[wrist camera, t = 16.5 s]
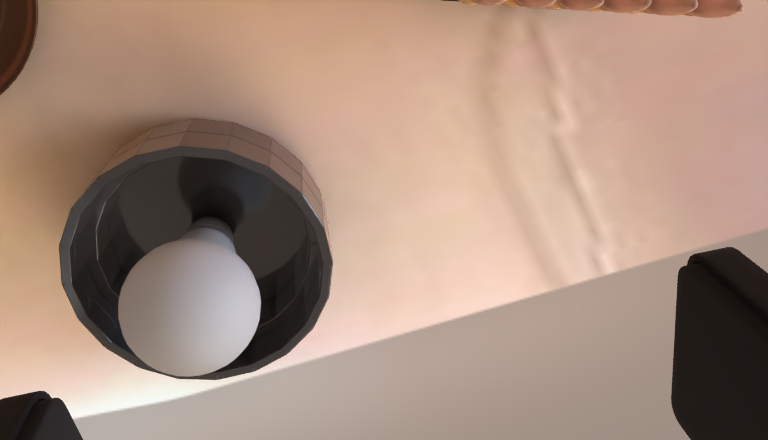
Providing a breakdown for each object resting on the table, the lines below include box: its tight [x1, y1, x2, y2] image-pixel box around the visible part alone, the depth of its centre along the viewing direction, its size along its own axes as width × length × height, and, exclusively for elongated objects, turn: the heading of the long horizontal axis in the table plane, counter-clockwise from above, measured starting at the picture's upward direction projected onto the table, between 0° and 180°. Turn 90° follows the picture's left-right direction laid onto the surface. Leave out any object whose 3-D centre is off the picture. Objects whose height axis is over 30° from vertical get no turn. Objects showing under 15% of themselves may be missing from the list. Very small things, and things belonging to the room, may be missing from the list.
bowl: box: [59, 119, 333, 380], centre depth 34 cm, size 13×13×6 cm
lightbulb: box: [118, 217, 261, 377], centre depth 31 cm, size 6×6×11 cm
